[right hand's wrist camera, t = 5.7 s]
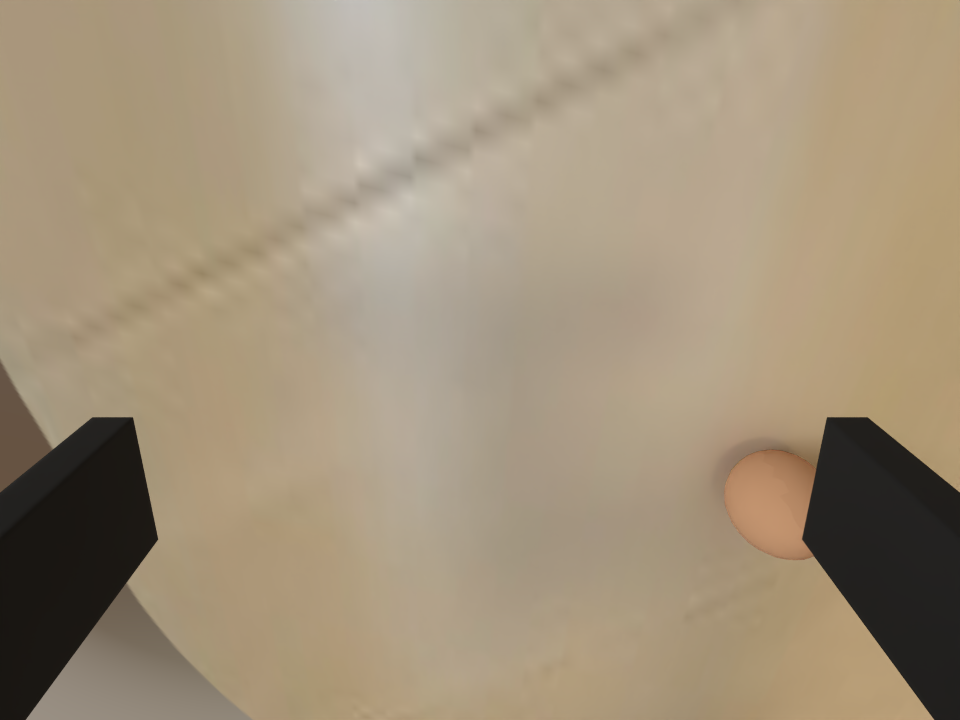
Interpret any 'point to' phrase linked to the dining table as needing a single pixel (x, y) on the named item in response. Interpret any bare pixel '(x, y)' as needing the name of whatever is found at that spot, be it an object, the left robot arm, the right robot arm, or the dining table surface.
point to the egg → (771, 502)
